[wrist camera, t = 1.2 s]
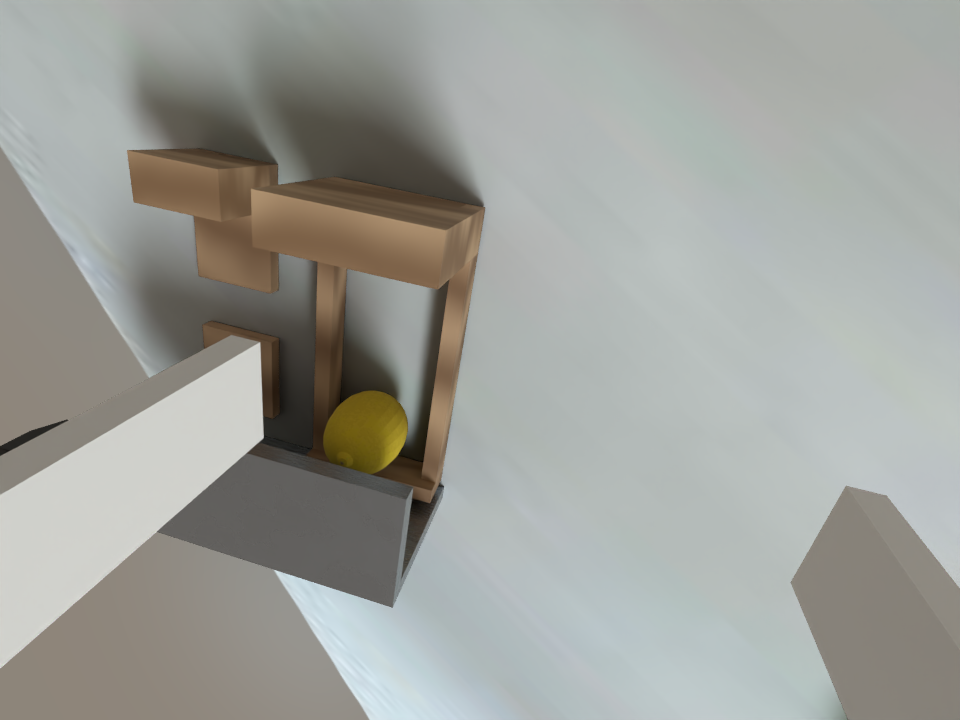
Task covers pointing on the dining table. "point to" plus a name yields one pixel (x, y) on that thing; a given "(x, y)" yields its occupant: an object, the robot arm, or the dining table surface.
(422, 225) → the wooden frame
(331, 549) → the shelf
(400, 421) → the lemon
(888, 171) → the dining table surface
